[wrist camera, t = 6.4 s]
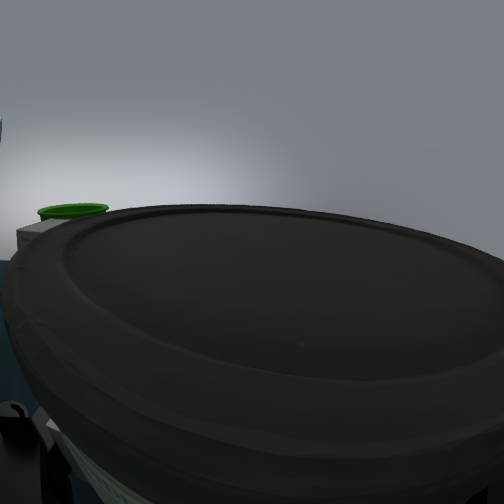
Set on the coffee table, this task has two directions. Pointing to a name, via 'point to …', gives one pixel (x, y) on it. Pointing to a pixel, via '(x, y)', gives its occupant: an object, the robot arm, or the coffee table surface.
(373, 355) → the coffee can
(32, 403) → the coffee table surface
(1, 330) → the coffee table surface
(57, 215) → the cup
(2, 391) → the coffee table surface
